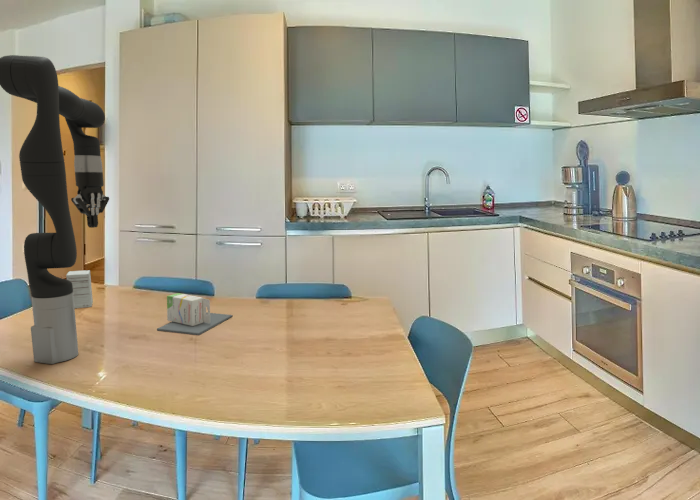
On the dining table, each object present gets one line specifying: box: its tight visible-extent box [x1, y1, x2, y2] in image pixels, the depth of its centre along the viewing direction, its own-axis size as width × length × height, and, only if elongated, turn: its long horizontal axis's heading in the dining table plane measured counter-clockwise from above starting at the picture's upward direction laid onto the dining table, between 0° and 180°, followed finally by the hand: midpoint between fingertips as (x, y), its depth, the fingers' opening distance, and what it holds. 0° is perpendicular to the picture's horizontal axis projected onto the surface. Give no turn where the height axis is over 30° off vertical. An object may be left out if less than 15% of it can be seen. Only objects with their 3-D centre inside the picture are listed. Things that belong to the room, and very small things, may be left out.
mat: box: [156, 311, 233, 336], centre depth 153 cm, size 20×15×1 cm
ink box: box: [166, 292, 211, 326], centre depth 151 cm, size 9×5×15 cm
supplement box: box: [65, 269, 94, 309], centre depth 172 cm, size 7×7×13 cm
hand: (93, 227), depth 145 cm, fingers closed
